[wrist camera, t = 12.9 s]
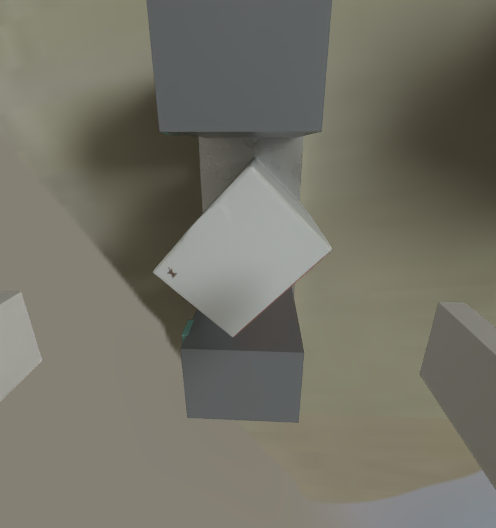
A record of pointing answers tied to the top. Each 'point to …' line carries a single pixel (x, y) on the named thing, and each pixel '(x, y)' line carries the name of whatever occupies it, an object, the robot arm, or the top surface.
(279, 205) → the small box
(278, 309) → the block
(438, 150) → the top surface
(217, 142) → the rail plate
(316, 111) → the block
